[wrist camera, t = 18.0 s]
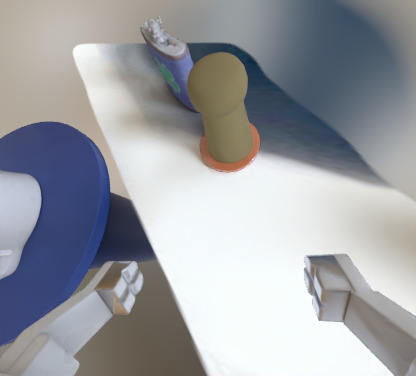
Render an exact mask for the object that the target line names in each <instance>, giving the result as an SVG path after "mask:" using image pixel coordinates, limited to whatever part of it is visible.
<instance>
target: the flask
mask: <svg viewBox="0 0 416 376" xmlns="http://www.w3.org/2000/svg"><path fill="white" fill-rule="evenodd" d="M158 19H159V20H158V21H156V20H154V19H149V20H148V21H145V22H144V23H143V24H142V25H141V33H142V35H143V37H144V39H145V41H146V43H147V45H148V47H149V48H150V50H151V52H152V54H153V56H154V58H155V60H156V62H157V64H158V66H159V68H160V70H161V72H162V74H163V76H164V78H165V80H166V82H167V84H168V87H169V88H170V91H171V92H172V94H173V95H174V97H175V98H176V99H177V100H178V101H180V102H181V103H182V104H183V105H185V106H186V107H187V108H189V109H190V110H192V111H195V112H198V111H197V110H196V108H195V107H194V106H193V104H192V103H191V101H190V99H189V96H188V91H187V80H188V76H189V72H190V70H191V69H192V67H193V66H194V65H193V62H192V59H191V56H190V53H189V50H188V46H187V45H186V43H185V42H183V41H180V40H179V39H176V38H174V37H173V36H171V35H169V34H168V33H167V32H166V31H164V29H163V28H162V27H161V25H162V21H161V19H160V16H158Z"/></svg>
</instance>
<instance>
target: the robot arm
mask: <svg viewBox="0 0 416 376" xmlns="http://www.w3.org/2000/svg"><path fill="white" fill-rule="evenodd" d="M40 209H41V190H40V186H39V184H38V182H37V181H36V179H35V178H34V177H32V176H31V175H29V174H25V173H15V172H7V171H2V170H0V279H2V278H4V277H6V276H8V275H10V274H12V273H13V272H14V271H15V270H16V268H17V266H18V264H19V261H20V258H21V254H22V251H23V248H24V246H25V244H26V242H27V240H28V238H29V237H30V235H31V233H32V231H33V229H34V227H35V225H36V223H37V220H38V217H39V213H40ZM304 262H305V265H306V267H305V268H304V279H305V284H306V287H307V290H308V293H310V294H311V295H312V296H313V300H312V304H313V307H314V309H315V312H316V315H317V317H318V320H319V321H332V322H344V324H345V325H346V326H347V327H348V328H349V329H350V331H351V332H352V333H353V334H354V335H355V336H356V337H357V338H358V339H359V340H360V341H361V342H362V343H363V344H364V345H365V346H366V347H367V348H368V349H369V350H370V351H371V352H372V353H373V354H374V355H375V356H376V357H377V358H378V359H379V360H380V361H381V362H382V363H383V364H384V365H385V366H386V367H387V368H388V369H389V370H390V371H391V372H392V373H393V374H394V375H395V376H416V316H415V315H413V314H412V313H410V312H408V311H407V310H405V309H404V308H402V307H401V306H399V305H398V304H396V303H395V302H393V301H392V300H390V299H389V298H387V297H386V296H384V295H383V294H381V293H380V292H377V291H373V290H372V289H371V288H370V286H369V285H368V283H367V282H366V280H365V279H364V278H363V276H362V275H361V273H360V272H359V271H358V269H357V268H356V266H355V265H354V263H353V262H352V261H351V259H350V258H349V256H348V255H346V254H325V255H305V258H304ZM137 267H138V265H137V263H136V262H135V261H108V262H106V263H104V265H103V266H102V267H101V269H100V270H99V271H98V272H97V274H96V275H95V276H94V278H93V279H92V280H91V282H90V283H89V284H88V285H87V287H86V288H85V289H84V290H81V291H79V292H78V293H76V294H75V295H73V296H72V297H71V298H69V299H68V300H66V301H65V302H63V303H62V304H61V305H59V306H58V307H56V308H55V309H53V310H52V311H51V312H49V313H48V314H46V315H45V316H44V317H42V318H41V319H39V320H38V321H36V322H35V323H34V324H32V325H31V326H29V327H28V328H26V329H25V330H24V331H22V332H21V334H20V335H19V336H18V337H17V338H16V339H15V340H14V341H13V343H12V344H11V345H10V346H9V347H8V348H7V349H6V351H4V353H3V354H2V355H1V356H0V376H74V375H75V373H76V371H77V369H78V367H79V362H78V361H77V360H76V359H75V358H74V357H73V356H74V355H75V354H76V353H77V352H78V351H79V350H80V349H81V348H82V347H83V346H84V345H85V344H86V343H87V341H88V340H89V339H90V338H91V337H92V336H93V335H94V334H95V333H96V332H97V331H98V330H99V329H100V328H101V327H102V326H103V325H104V324H105V323H106V322H107V321H108V320H109V319H110V318H111V317H112V316H113V314H129V312H130V310H131V308H132V306H133V304H134V302H135V295H136V294H137V293H138V292H140V289H141V287H142V283H143V275H142V273H141V272H140V271H139V270H138V269H137Z"/></svg>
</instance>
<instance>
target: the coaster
mask: <svg viewBox="0 0 416 376" xmlns="http://www.w3.org/2000/svg"><path fill="white" fill-rule="evenodd" d="M249 125H250V129H251V132H252V136H253V147H252V149H251V151H250V153H249V154H248V155H247V156H246V157H245V158H244V159H242V160H240V161H238V162H235V163H222V162H219V161H217V160H216V159H214V158H213V157H212V156H211V154H210V152H209V149H208V144H207V139H206V134H205V133H204V135H203V137H202V139H201V143H200V151H201V155H202V157H203V159H204V161H205V162H206V163H207V164H208V165H209V166H210V167H211V168H213V169H215V170H217V171H221V172H234V171H238V170H241V169H243V168H245V167H246V166H248V165H249V164H250V163H251V162H252V161H253V160H254V159H255V157H256V156H257V154H258V151H259V148H260V137H259V133H258V131H257V130H256V128H255V127H254V126H253V125H252V124H251V123H250V122H249Z"/></svg>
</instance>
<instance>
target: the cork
mask: <svg viewBox="0 0 416 376" xmlns="http://www.w3.org/2000/svg"><path fill="white" fill-rule="evenodd" d="M247 85H248V77H247V74H246V71H245V68H244V65H243V64H242V63H241V62H240V60H239V59H238V58H237V57H236V56H234V55H232V54H230V53H224V52H219V53H213V54H210V55H207V56H205V57H203V58H202V59H200V60H199V61H198V62H197V63H196V64H195V65H194V66H193V67H192V69H191V70H190V72H189V76H188V80H187V91H188V96H189V99H190V101H191V103H192V104H193V106H194V107H195V108H196V110H197V111H198V112H200V113H201V115H202V119H203V124H204V129H205V134H206V139H207V144H208V149H209V152H210V154H211V156H212V157H213V158H214V159H216V160H217V161H219V162H222V163H235V162H238V161H240V160H242V159H244V158H245V157H246V156H247V155H248V154H249V153H250V151H251V149H252V147H253V136H252V132H251V129H250V125H249V121H248V117H247V113H246V109H245V106H244V102H243V100H244V98H245V96H246V92H247Z"/></svg>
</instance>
